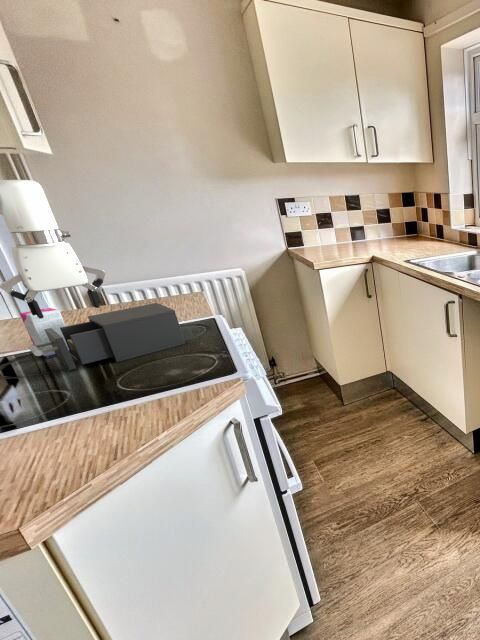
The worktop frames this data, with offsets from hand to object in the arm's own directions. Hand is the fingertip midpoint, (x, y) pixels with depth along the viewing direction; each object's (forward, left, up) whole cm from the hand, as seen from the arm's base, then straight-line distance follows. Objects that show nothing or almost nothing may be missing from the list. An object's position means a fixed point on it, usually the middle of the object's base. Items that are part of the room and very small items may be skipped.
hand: (69, 312), depth 100 cm
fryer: (+4, +10, -13) cm, 17 cm away
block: (0, 0, -11) cm, 11 cm away
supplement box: (-16, +3, -13) cm, 21 cm away
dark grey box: (0, 0, -12) cm, 12 cm away
